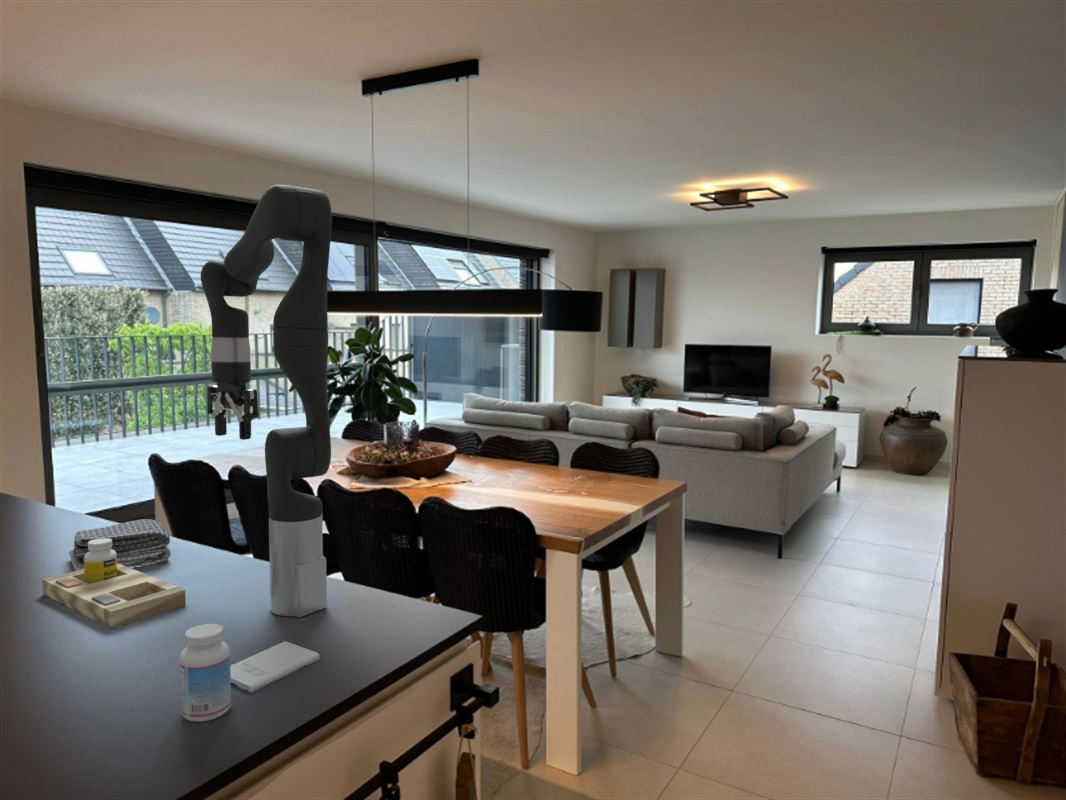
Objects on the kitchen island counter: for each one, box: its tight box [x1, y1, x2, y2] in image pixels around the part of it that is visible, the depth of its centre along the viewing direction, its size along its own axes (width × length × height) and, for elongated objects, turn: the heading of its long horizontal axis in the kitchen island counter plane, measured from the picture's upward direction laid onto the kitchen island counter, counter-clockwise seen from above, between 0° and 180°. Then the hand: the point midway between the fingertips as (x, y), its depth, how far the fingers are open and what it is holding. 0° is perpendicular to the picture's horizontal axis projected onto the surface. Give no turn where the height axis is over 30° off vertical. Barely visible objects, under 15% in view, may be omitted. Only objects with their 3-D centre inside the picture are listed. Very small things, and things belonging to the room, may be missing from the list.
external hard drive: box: [230, 641, 320, 690], centre depth 109 cm, size 2×8×12 cm
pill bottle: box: [179, 623, 233, 723], centre depth 96 cm, size 6×6×11 cm
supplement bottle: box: [84, 538, 117, 584], centre depth 138 cm, size 5×5×10 cm
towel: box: [68, 518, 172, 571], centre depth 156 cm, size 15×18×8 cm
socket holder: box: [41, 563, 187, 629], centre depth 134 cm, size 26×13×3 cm, turn 56°
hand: (232, 437), depth 150 cm, fingers open, 8 cm apart
